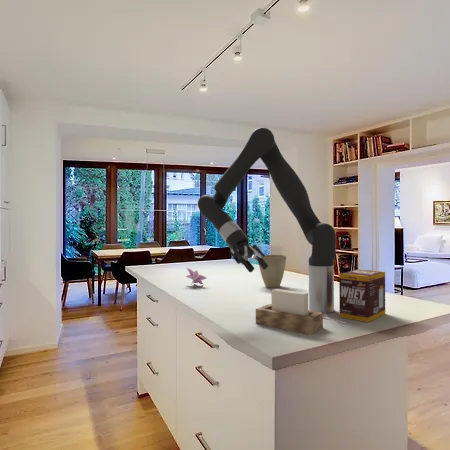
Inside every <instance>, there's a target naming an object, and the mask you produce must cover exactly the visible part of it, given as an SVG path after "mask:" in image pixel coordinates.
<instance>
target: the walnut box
mask: <svg viewBox="0 0 450 450" xmlns="http://www.w3.org/2000/svg"><path fill="white" fill-rule="evenodd" d="M323 314H324V313H322V312H316V311H310V310H309V309H308V316H302V315H297V314H291V313H286V312H280V311H275V310H272V303H269V304H266V305H263V306H260V307H257V308H255V324H258V323H260V324H259V325H263V324H264V325H263V326H267V325H268V326H267V327H273V328H278V329H280V330H281V329H283V330H286V331H287V330H288V331H290V332H297V333H300V334H306V335H312V334H314V333H315V332H317V331H319V330H321V329H323V328H324V327H323V326H324V319H323V317H324V315H323Z"/></svg>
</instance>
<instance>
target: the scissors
mask: <svg viewBox="0 0 450 450" xmlns="http://www.w3.org/2000/svg"><path fill="white" fill-rule="evenodd" d="M323 320H327V321H330V322H333V323H335V324H337V325H339V326H341V327H344V328H346V326H344V325H343V324H347V325H350V323H348V322H346V321H345V322H344V321H341V320H337V319H333V318H332V317H329V316H328V313H323ZM341 323H343V324H341ZM351 325H353V326H354V324H353V323H351Z"/></svg>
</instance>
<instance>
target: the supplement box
mask: <svg viewBox="0 0 450 450" xmlns="http://www.w3.org/2000/svg"><path fill="white" fill-rule="evenodd" d="M338 275H339V276H338V278H339V281H338V282H339V287H338V288H339V291H338V292H339V318H345V319H350V320H353V321H354V320H355V321H358V322H359V321H361V322H363V323H364V322H365V323H369V322H372V321H373V320H375V319H378V318H380V317H382V316H384V315H386V271H381V270H373V269H372V270H370V269H361V268H360V269H358V268H357V269H354V270H350V271H346V272H345V271H344V272H340V273H339V274H338Z"/></svg>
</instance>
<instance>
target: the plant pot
mask: <svg viewBox="0 0 450 450" xmlns="http://www.w3.org/2000/svg"><path fill="white" fill-rule="evenodd" d="M264 255H265V256H264V257H263V259H264V261H265V262H266V263H267V264H268V267H267V268H266V269H265V270H264V269H263V268H262V267H261V266H260V264H259V263H258V266H259V271H260V274H261V277H262V280H263V283H264V286H265V288H274V289H276V288H279V287H281V284H282V280H283V277H284V273H285V268H286V264H287V261H286V260H287V255H284V254H264Z"/></svg>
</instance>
